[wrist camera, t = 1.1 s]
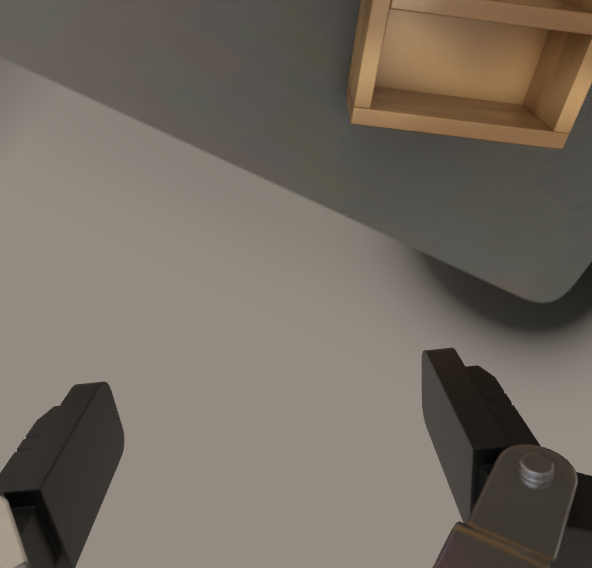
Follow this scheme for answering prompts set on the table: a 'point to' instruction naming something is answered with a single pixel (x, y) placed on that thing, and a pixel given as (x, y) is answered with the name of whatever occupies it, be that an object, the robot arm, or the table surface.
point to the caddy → (472, 68)
